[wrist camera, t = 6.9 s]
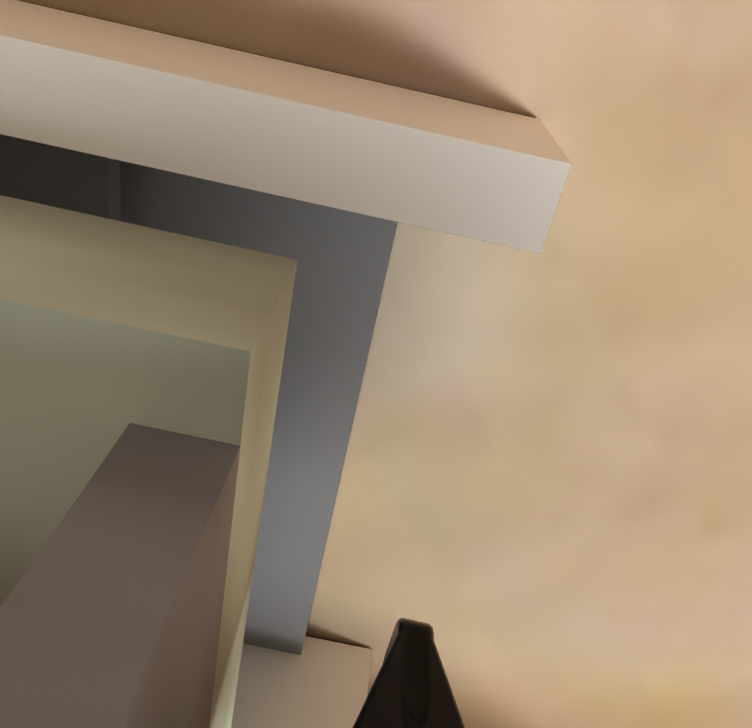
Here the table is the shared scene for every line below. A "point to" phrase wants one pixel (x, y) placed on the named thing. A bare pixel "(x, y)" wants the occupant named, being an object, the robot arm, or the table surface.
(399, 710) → the robot arm
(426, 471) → the table surface
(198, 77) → the tray
